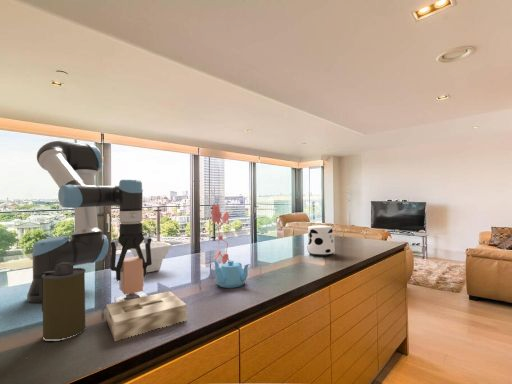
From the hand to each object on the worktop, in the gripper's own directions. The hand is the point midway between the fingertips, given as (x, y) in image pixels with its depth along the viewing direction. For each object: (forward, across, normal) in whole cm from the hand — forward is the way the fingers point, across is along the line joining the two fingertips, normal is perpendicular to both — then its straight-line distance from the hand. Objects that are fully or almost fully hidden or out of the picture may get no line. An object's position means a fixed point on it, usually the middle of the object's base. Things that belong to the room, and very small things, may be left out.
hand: (131, 287), depth 99 cm
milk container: (+6, +116, +15) cm, 117 cm away
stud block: (+4, 0, 0) cm, 4 cm away
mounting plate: (+6, +1, -16) cm, 17 cm away
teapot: (+7, +39, -2) cm, 40 cm away
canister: (+7, -20, -10) cm, 23 cm away
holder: (+7, 0, -1) cm, 7 cm away
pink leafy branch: (+7, +53, +38) cm, 66 cm away
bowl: (+8, +18, +46) cm, 50 cm away
